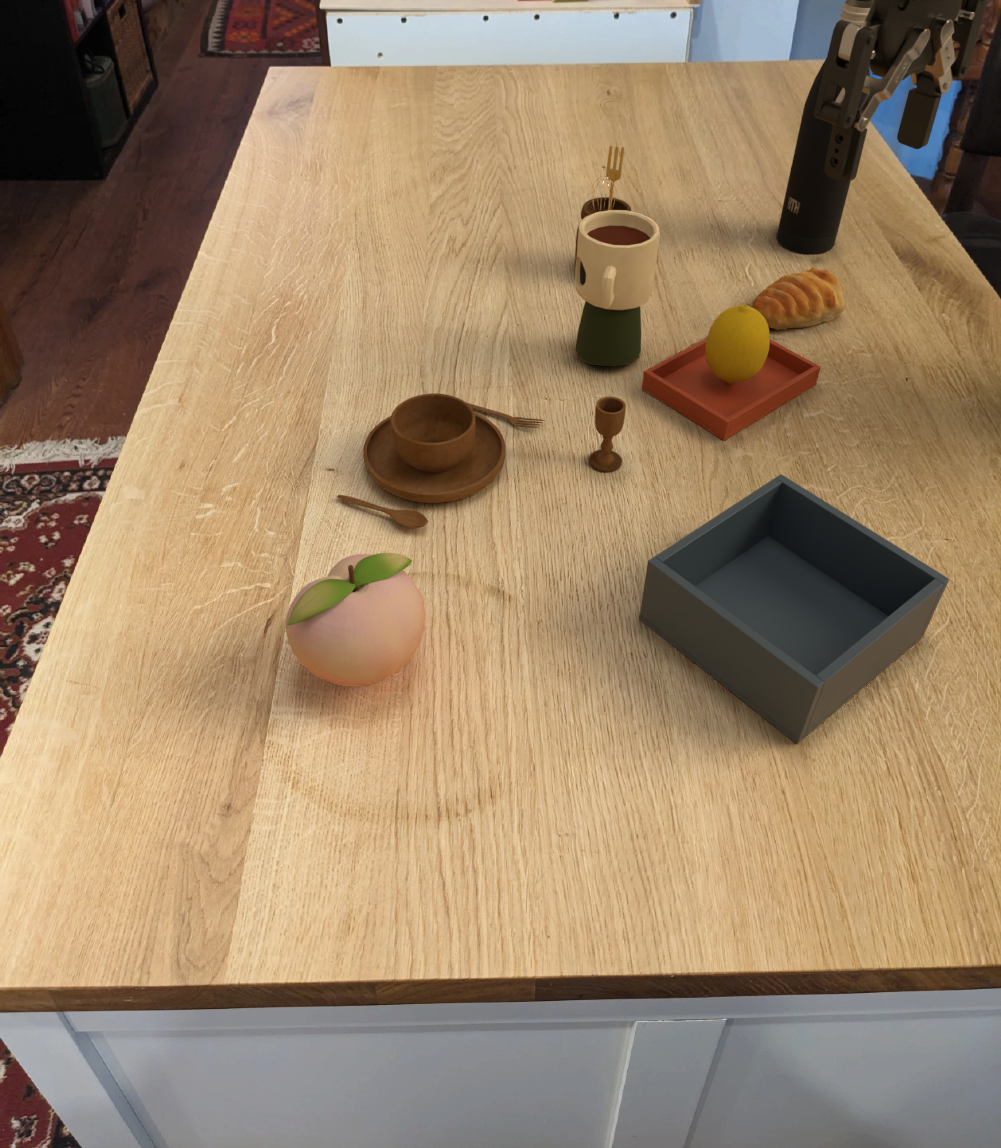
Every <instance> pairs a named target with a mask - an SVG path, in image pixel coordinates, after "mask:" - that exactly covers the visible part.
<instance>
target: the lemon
mask: <svg viewBox="0 0 1001 1148" xmlns="http://www.w3.org/2000/svg"><path fill="white" fill-rule="evenodd" d="M770 336H771V335H770V327H768V324H767V322H766V320H765V318H764V316H763V315H762V314H761V313H760V312H759V311H757V310H756V309H754V308H752V306H749V305H748V304H741V305H740V304H739V305H735V306H731V307H728V308H726V309H725V310H724V311H722V312H720V313H719V314H718V316H717V317H716V318H715V319H714V320H713V322H712V324H711V326H710V329H709V331H708V335H707V337H706V338H707V341H706V349H705V350H706V359H707V363H708V366H709V367H710V369H711V371H712V372H713V373H714V374H715V375H716V376H717V377H718V378H720V379H722V380H724V381H726V382H727V383H729V384H733V383H736V382H742V381H746V380H748V379H750V378H752V377H753V376H754V375H755V374H756V373H757V372H758V371H759V370H760V369H761V368H762V366H763V364H764V362H765V360H766V358H767V355H768V351H769V345H770Z"/></svg>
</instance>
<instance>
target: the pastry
mask: <svg viewBox="0 0 1001 1148" xmlns="http://www.w3.org/2000/svg"><path fill="white" fill-rule="evenodd" d="M751 307H752V308H754V309H756V310H757V311H759V312H760V313H761V314H762V315H763V316H764V318H765V320H766V322H767V324H768V327H769V329H775V330H776V331H778V330H782V331H785V330H789V329H802V328H807V327H813V326H816V325H820V324H821V323H824V322H825V323H827V322H831V321H833V320H834V319H835V318H837V317H838V316H839V315H840V314H841V313H842V312H843V311H844V310H845V308H846V302H845V299H844V293H843V291H842V289H841V282H840V280H839V278H838V277H837V276H836V275H835V274H834V273H832V272H831V271H830V270H829V269H826V268H825V269H824V268H817V267H815V266H813V267H810V268H809V269H805V270H804V271H800V272H796V273H791V274H786V275H783V276H781V277H779V279H777V280H775V281H774V282H773V283H771V284H769V285H768V286H767V287H766V288H765V289H764V290H762V291H761V293H759V294H758V295H757V297H755V298H754V299H753V301H752V302H751Z"/></svg>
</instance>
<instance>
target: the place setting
mask: <svg viewBox="0 0 1001 1148" xmlns="http://www.w3.org/2000/svg"><path fill="white" fill-rule="evenodd" d="M626 408H627V405H626V402H625V401H624V400H622V398H620V397H616V396H611V395H610V396H603V397H600V398H599V399H598V400H597V401H596V403H595V408H594V409H595V410H594V426H595V430H596V431H597V433H598V434H599V435H601V436H602V441H601V443H600V448H599V450H595V451H593V452H591V454H590V455H589V457H588V463H589V465H590V467H591V468H592V469H594V470H595V471H598V472H602V473H611V472H615V471H617V470H618V469H619V468H620V467H621V466H622V464H623V459H622V457H621V455H620V454H619V453H618V452H616V451H614V450H613V449H614V444H613V438H614V437H616V436H617V435H619V434H620V433H621V431H622V430H623V428H624V424H625V419H626ZM393 409H394V410H393V411H392V412H391V415H390V416H387V417H386V418H384V419H383V420H381V421H380V422H379V423H377V424H376V425H375V426H374V427H373V428H372V430H370V431H369V433H368V435H367V436H366V437H365V441H364V444H363V449H362V457H363V461H364V466H365V468H366V470H367V472H368V474H369V476H370V477H371V479H372V480H373V481H374V482H375V483H376V484H377V485H378V487H380V488H382V489H383V490H384V491H386V492H388V493H389V494H391V495H393V496H396V497H397V498H401V499H404V500H408V501H411V502H417V503H425V504H426V503H427V504H431V503H432V504H438V503H439V504H440V503H447V502H454V501H457V500H461V499H464V498H468V497H470V496H472V495H474V494H477V493H479V492H480V491H481V490H483V489H484V488H486V487H487V486H489V484H491V483H492V482H493V481H494V480H495V478H497V476H498V475H499V474H500V472H501V470H502V468H503V466H504V463H505V459H506V449H507V447H506V446H507V445H506V441H505V438H504V435H503V434H502V432H501V430H500V429H499V428H498V427H497V426H496V424H495V423H493V422H492V421H491V420H490V419H488V418H486V417H485V416H483V415H481V414H479V413H477V412H475V411H474V410H476V411H478V412H482V413H485V414H489V415H493V416H497V417H500V418H503V419H506V420H508V421H509V423H510V425H512V426H513V427H514V426H515V427H518V428H529V429H530V428H533V429H538V428H540V426H541V424H543V423H544V422H545V421H546V420H545V419H539V418H529V417H521V416H512V415H510V414H507V413H505V412H501V411H497V410H493V409H490V408H487V407H484V406H480V405H477V404H474V403H469V402H467V401H465V400H463V399H461V398H459V397H456V396H454V395H450V394H446V393H439V392H438V393H437V392H436V393H435V392H433V393H432V392H431V393H422V394H418V395H415V396H412V397H409V398H406V400H404V401H402V402H400V403H399V404H398V405H397V406H395V408H393ZM336 498H338V499H339V500H341V501H344V502H347V503H349V504H353V505H356V506H359V507H363V508H367V509H371V510H375V511H378V512H380V513H384V514H386V515H388V516H390V518H391V519H392V521H394V522H395V523H397V524H398V525H400V526H402V527H406V528H413V529H414V528H416V529H417V528H423V527H425V526H427V524H428V522H429V520H428V518H427V517H426V515H424V514H423V513H422V512H420V511H418V510H415V509H407V508H406V509H405V508H402V509H393V508H388V507H385V506H382V505H378V504H375V503H372V502H369V501H367V500H363V499H360V498H357V497H353V496H349V495H345V494H338V495H336Z"/></svg>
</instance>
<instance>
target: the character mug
mask: <svg viewBox="0 0 1001 1148" xmlns="http://www.w3.org/2000/svg"><path fill="white" fill-rule="evenodd" d="M580 221H581V220H580ZM580 221H579V223H580V224H579V223H578V225H579V231H578V245H577V259H576V268H575V277H574V287H575V291H576V293H577V294H578V296H580V298H581V299H582V300H583V301H585V302H584V305H583V308H582V312H581V317H580V321H579V324H578V330H577V334H576V341H575V347H574V351H575V353H576V355H577V358H579V359H580V360H582V361H583V362H584V363H586V364H588V365H595V366H602V367H603V366H607V367H608V366H609V367H614V366H615V367H619V366H624V365H629V364H632V363H634V362H635V361H636V360H638V359H639V358H640V355H641V351H642V315H641V314H642V313H641V312H642V311H641V306H642V305H644V304H647V303H648V301H649V300H650V298H651V297H652V296H653V291H654V284H655V276H656V268H657V259H658V252H659V245H660V244H659V243H660V226H659V224H657V222H655V220H654V219H652V217H649V216H646V215H645V214H642V213H640V212H636V211H632V210H631V211H626V210H608V211H602V212H596V213H594V214H591V215H589V216H586V217H585V218H584V219H583V220H582V221H581V222H580Z"/></svg>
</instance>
